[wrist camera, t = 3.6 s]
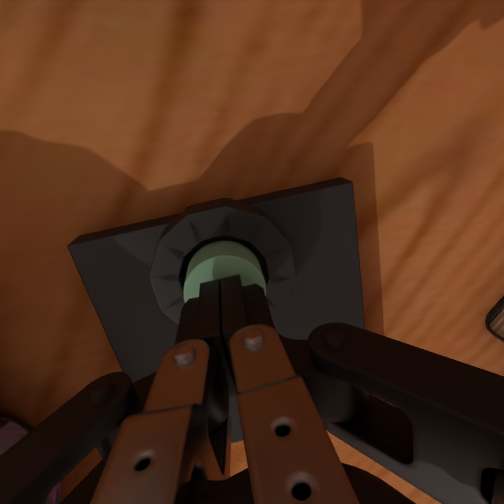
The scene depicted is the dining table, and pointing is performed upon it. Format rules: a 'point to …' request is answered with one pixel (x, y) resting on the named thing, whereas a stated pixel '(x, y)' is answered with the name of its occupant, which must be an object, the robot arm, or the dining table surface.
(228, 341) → the robot arm
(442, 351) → the dining table surface
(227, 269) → the tare button
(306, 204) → the dark grey button base
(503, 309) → the hardcover book
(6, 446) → the decorative bowl
